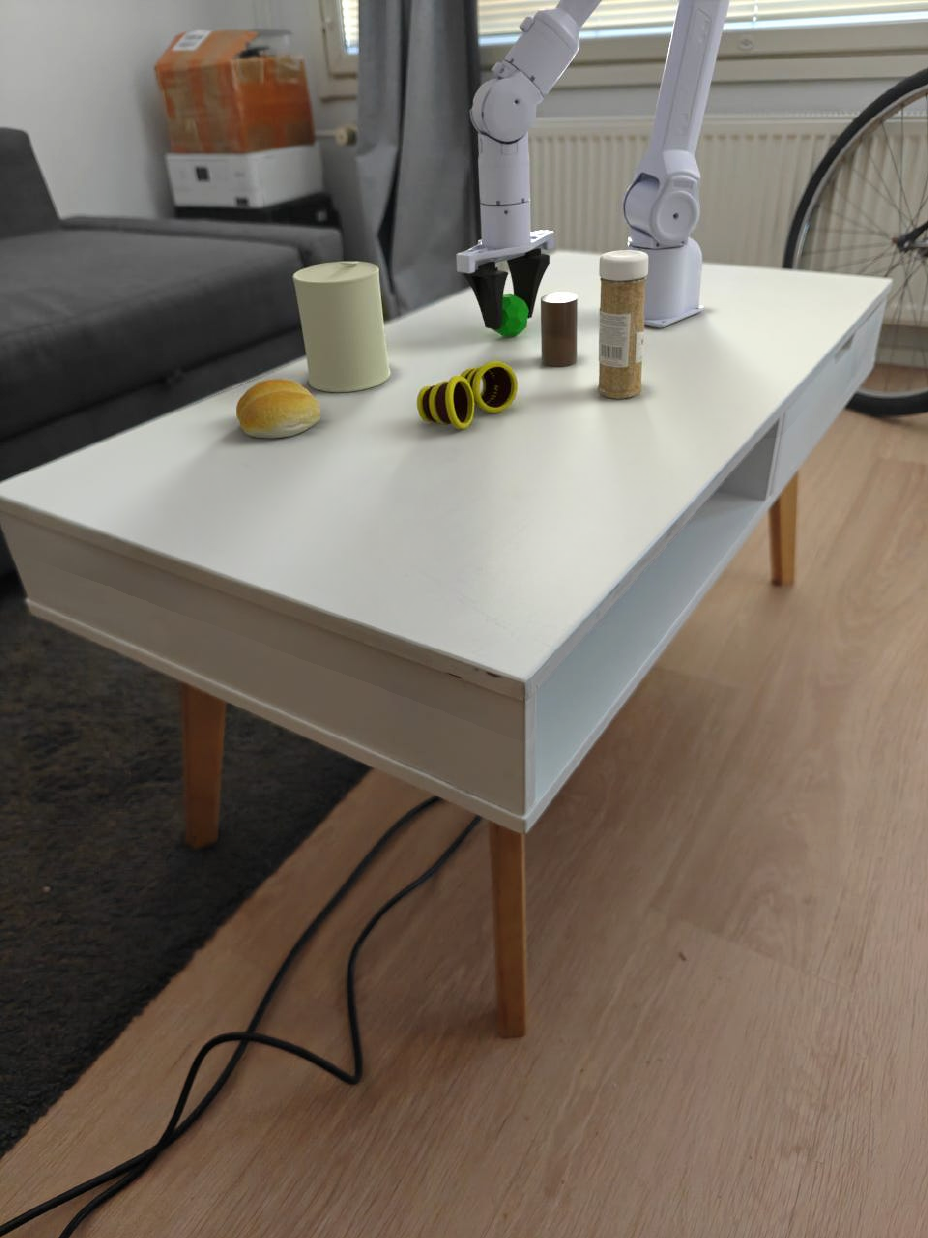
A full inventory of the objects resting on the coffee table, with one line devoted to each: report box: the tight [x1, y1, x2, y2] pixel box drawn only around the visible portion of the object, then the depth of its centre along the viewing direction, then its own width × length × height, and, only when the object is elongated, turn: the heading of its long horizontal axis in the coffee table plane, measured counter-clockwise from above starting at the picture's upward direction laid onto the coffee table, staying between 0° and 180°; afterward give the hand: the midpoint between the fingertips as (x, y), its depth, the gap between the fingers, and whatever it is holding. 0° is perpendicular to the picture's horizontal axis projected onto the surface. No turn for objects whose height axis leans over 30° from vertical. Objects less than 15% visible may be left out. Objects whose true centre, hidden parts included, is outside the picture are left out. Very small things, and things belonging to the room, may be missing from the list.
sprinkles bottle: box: [597, 249, 648, 400], centre depth 88 cm, size 5×5×13 cm
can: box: [292, 261, 392, 393], centre depth 97 cm, size 9×9×12 cm
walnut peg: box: [540, 292, 579, 368], centre depth 99 cm, size 4×4×7 cm
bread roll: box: [235, 378, 322, 439], centre depth 89 cm, size 8×9×4 cm
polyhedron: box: [492, 293, 529, 338], centre depth 109 cm, size 5×5×5 cm
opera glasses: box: [416, 360, 519, 430], centre depth 87 cm, size 10×5×5 cm, turn 136°
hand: (509, 322), depth 109 cm, fingers closed on polyhedron, 5 cm apart
